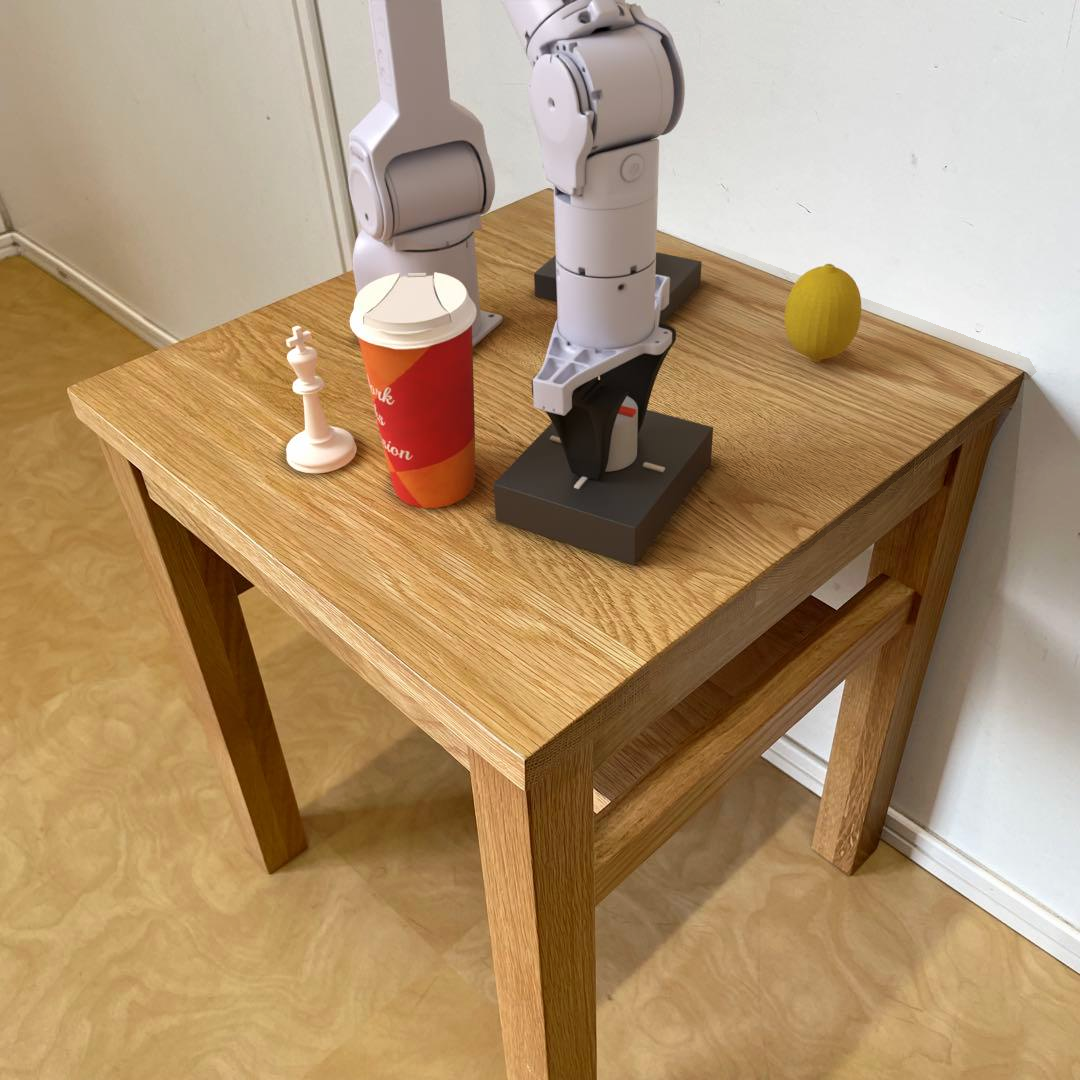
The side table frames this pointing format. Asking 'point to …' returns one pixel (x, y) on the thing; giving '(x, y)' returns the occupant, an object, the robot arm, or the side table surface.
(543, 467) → the panel
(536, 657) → the side table surface
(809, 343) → the lemon
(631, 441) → the timer dial
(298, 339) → the chess piece
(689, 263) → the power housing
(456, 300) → the paper cup
